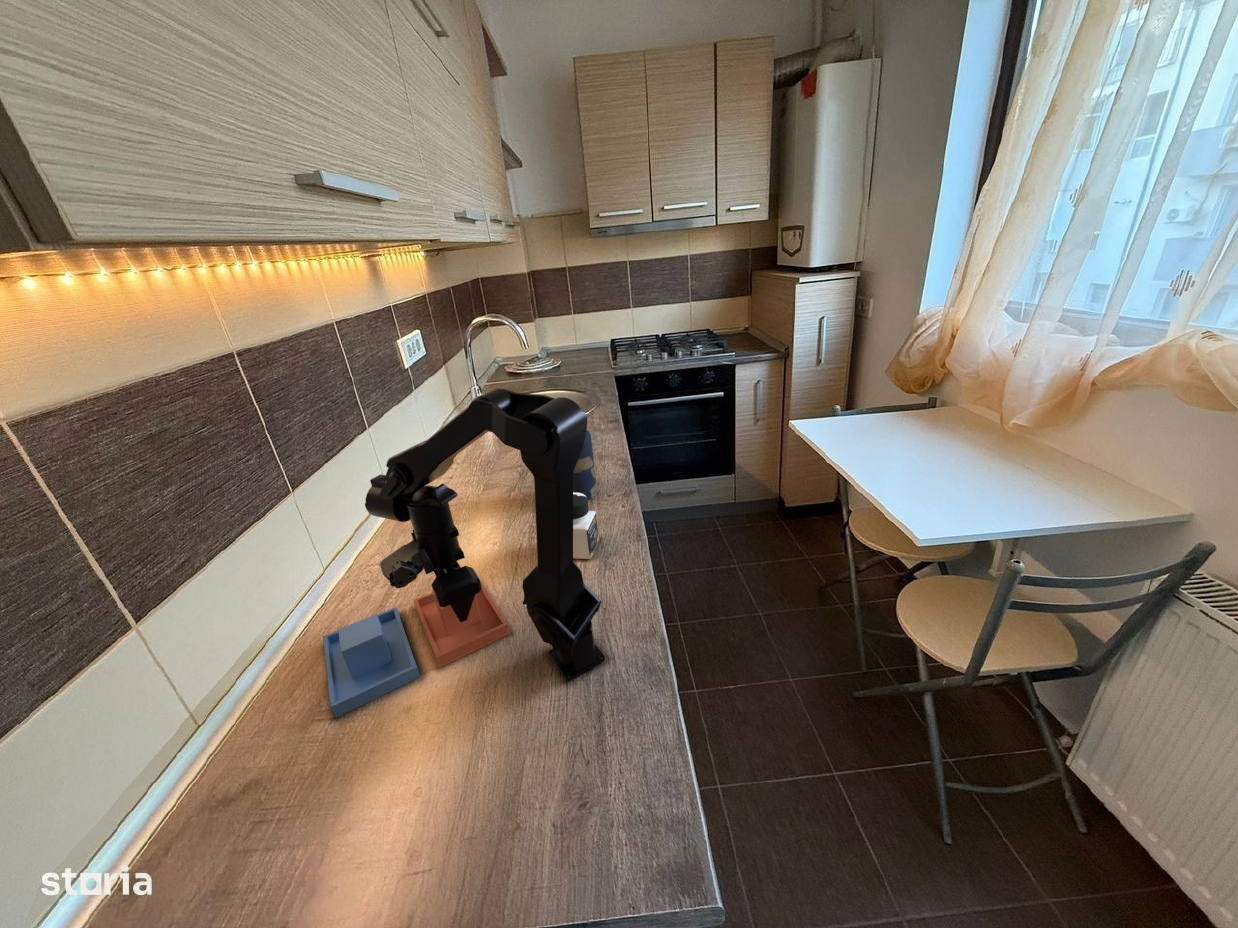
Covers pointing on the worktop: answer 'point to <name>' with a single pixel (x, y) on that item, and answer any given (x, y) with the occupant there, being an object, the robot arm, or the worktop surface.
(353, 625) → the blue block
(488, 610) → the terracotta tray
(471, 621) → the terracotta block
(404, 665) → the blue tray
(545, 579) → the robot arm
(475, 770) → the worktop surface
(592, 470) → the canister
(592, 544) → the medicine bottle
